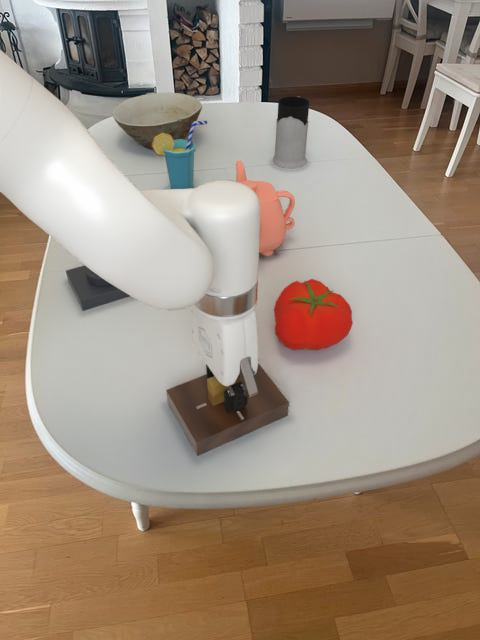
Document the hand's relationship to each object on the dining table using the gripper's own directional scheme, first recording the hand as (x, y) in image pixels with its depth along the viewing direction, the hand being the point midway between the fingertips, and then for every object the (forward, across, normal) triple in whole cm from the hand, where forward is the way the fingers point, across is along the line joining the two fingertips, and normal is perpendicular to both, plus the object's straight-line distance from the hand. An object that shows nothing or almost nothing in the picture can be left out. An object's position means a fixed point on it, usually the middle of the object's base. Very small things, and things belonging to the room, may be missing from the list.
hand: (226, 393), depth 71 cm
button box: (+4, -36, -6) cm, 37 cm away
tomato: (+4, -7, +19) cm, 21 cm away
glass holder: (+4, -67, +54) cm, 86 cm away
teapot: (+4, -37, +23) cm, 44 cm away
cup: (+4, -64, +22) cm, 68 cm away
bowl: (+4, -92, +27) cm, 96 cm away
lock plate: (+4, 0, 0) cm, 4 cm away
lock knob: (+1, 0, 0) cm, 1 cm away
